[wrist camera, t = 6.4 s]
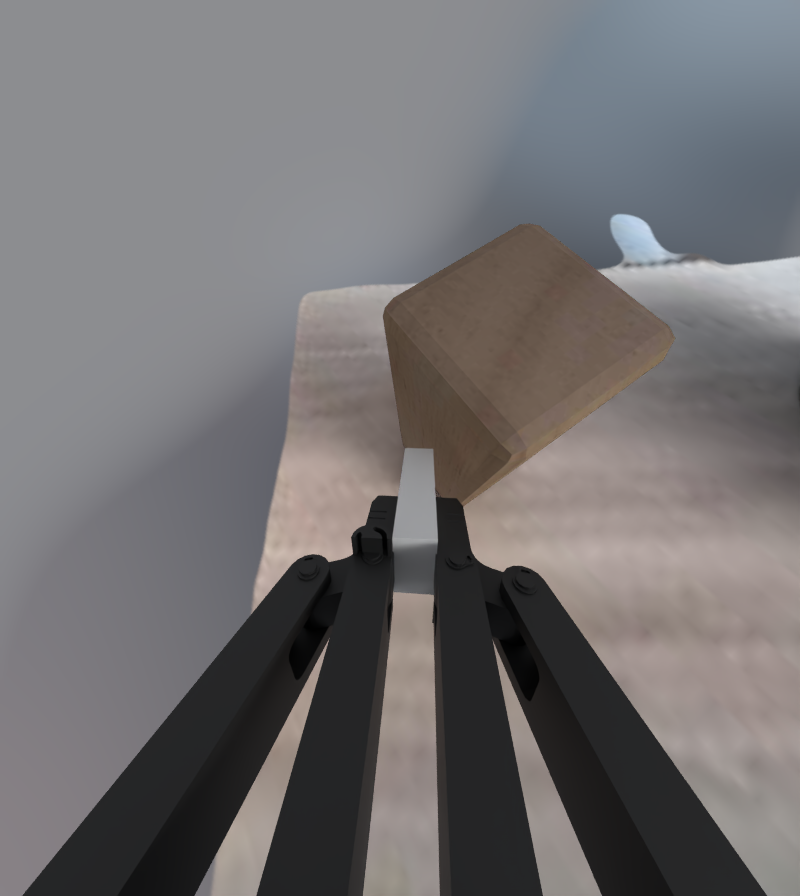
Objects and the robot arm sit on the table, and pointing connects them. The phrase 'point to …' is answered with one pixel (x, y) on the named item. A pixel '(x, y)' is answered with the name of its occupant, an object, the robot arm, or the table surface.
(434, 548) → the robot arm
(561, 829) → the table surface
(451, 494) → the block
